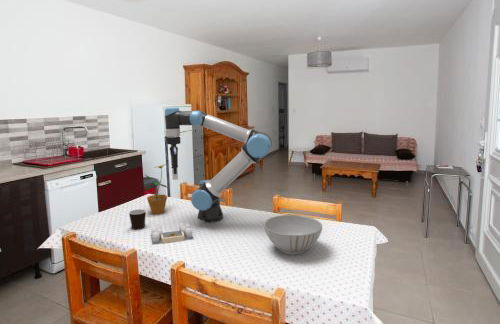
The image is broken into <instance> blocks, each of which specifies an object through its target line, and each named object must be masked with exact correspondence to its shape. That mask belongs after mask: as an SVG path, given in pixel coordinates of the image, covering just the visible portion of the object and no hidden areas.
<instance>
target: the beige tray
mask: <svg viewBox="0 0 500 324" xmlns="http://www.w3.org/2000/svg"><path fill="white" fill-rule="evenodd" d="M178 224H179V226H178V227H179V230H175V231H174V230H173V231H167V232H165V231H164V230H163V226H162V225H156V226H154V227H152V228H151V229H150V232H151V233H150V238H151V244H152V246H154V245H160V244H161V245H162V244H168V243H177V242H183V241H190V240H195V238H194V236H193V228H192V227H191V223H185V222H180V223H178ZM170 233H176V234H178V236H174V237H168V235H169V234H170Z"/></svg>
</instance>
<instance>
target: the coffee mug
mask: <svg viewBox="0 0 500 324" xmlns="http://www.w3.org/2000/svg"><path fill="white" fill-rule="evenodd" d="M128 215H129V220H130V224H131V229H132V230H135V231H136V230H137V231H138V230H142V229H145V227H146V215H147V211H146V209H141V208H140V209H133V210H130V211H129V212H128Z"/></svg>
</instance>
